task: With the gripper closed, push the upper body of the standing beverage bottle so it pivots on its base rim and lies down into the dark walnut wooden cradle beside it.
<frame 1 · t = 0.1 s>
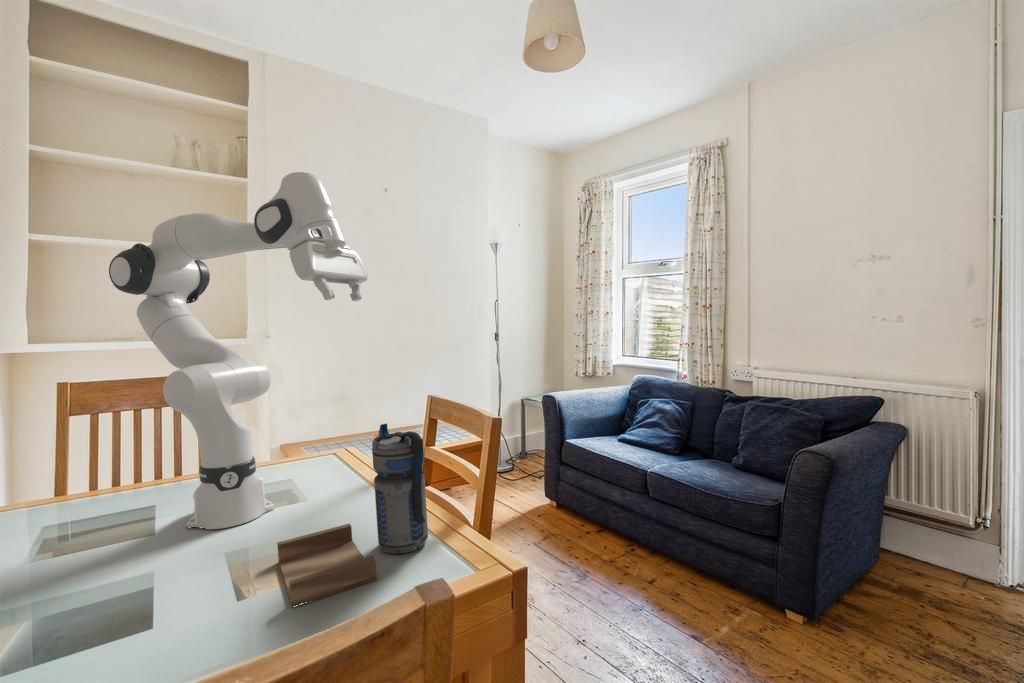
hand: (344, 299, 105), 52 cm above the table, tool tilted 20°, fingers open, 8 cm apart
beverage bottle: (406, 546, 99), on the table
walnut cradle: (325, 570, 91), on the table
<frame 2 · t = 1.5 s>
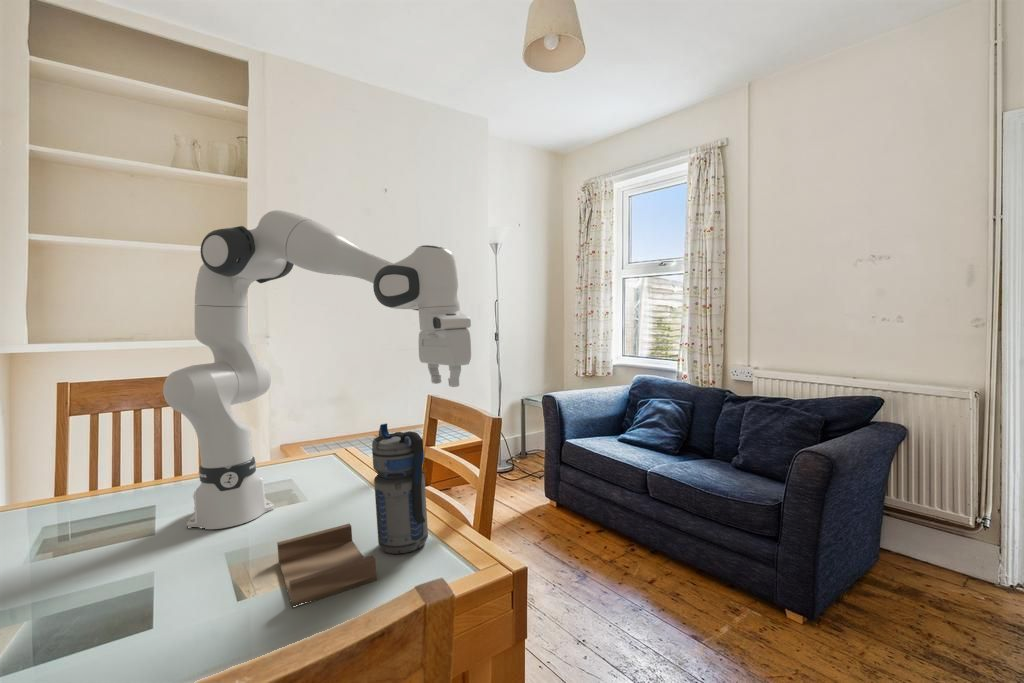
hand: (445, 384, 104), 32 cm above the table, tool pointing down, fingers open, 8 cm apart
nothing on the table moved.
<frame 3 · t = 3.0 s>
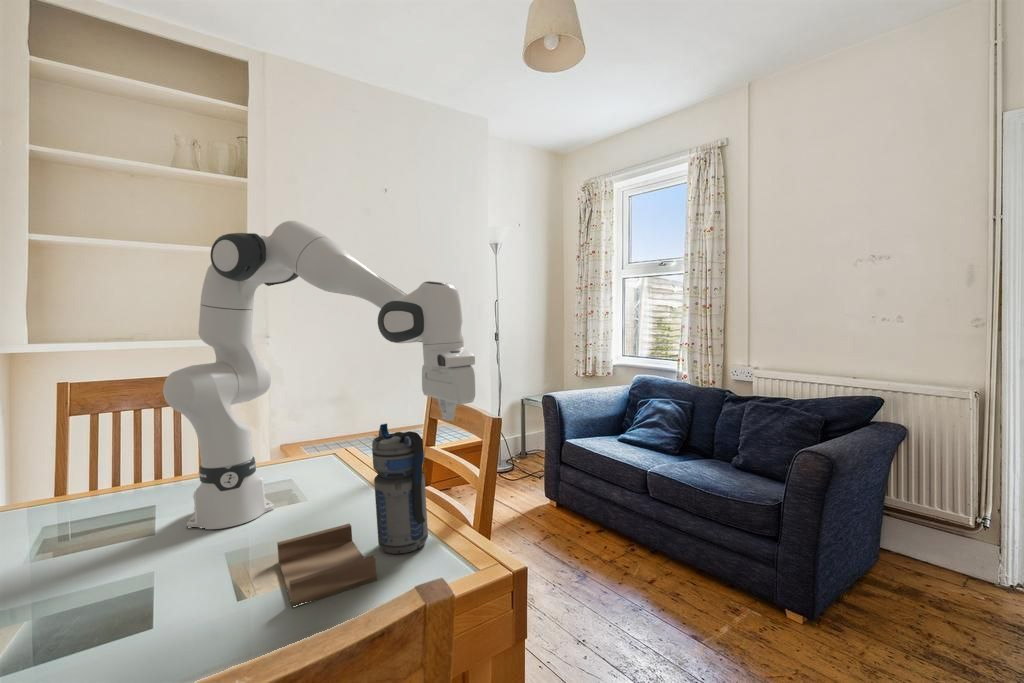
hand: (448, 419, 104), 25 cm above the table, tool pointing down, fingers closed
nothing on the table moved.
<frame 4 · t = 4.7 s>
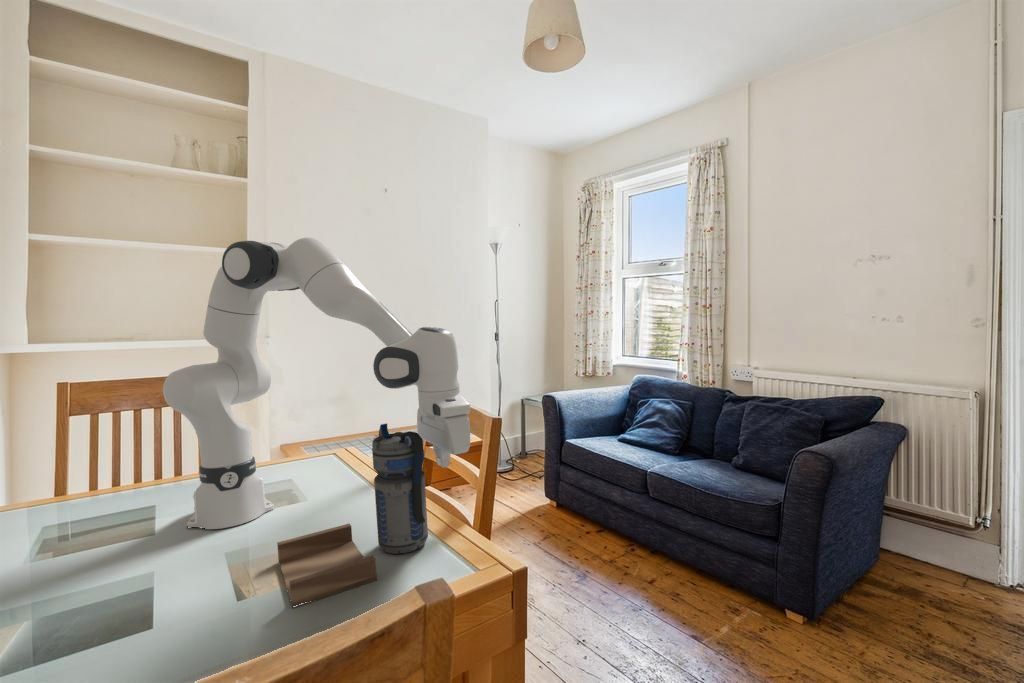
hand: (443, 465, 103), 15 cm above the table, tool pointing down, fingers closed
nothing on the table moved.
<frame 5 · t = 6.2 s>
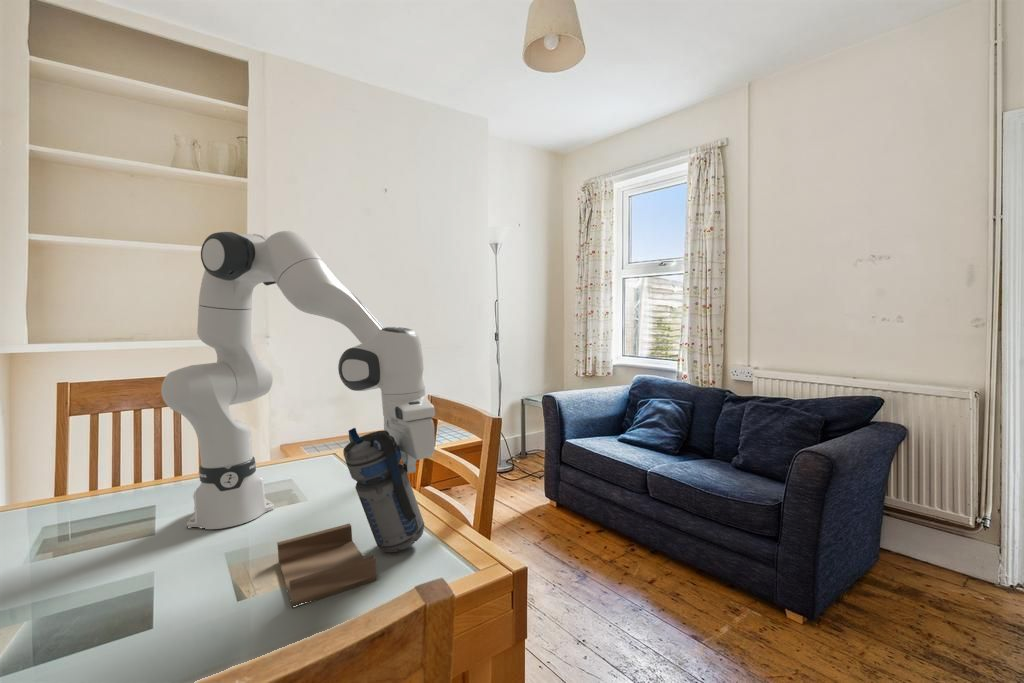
hand: (409, 471, 99), 15 cm above the table, tool pointing down, fingers closed
beverage bottle: (405, 540, 99), point 1 cm above the table, touching gripper
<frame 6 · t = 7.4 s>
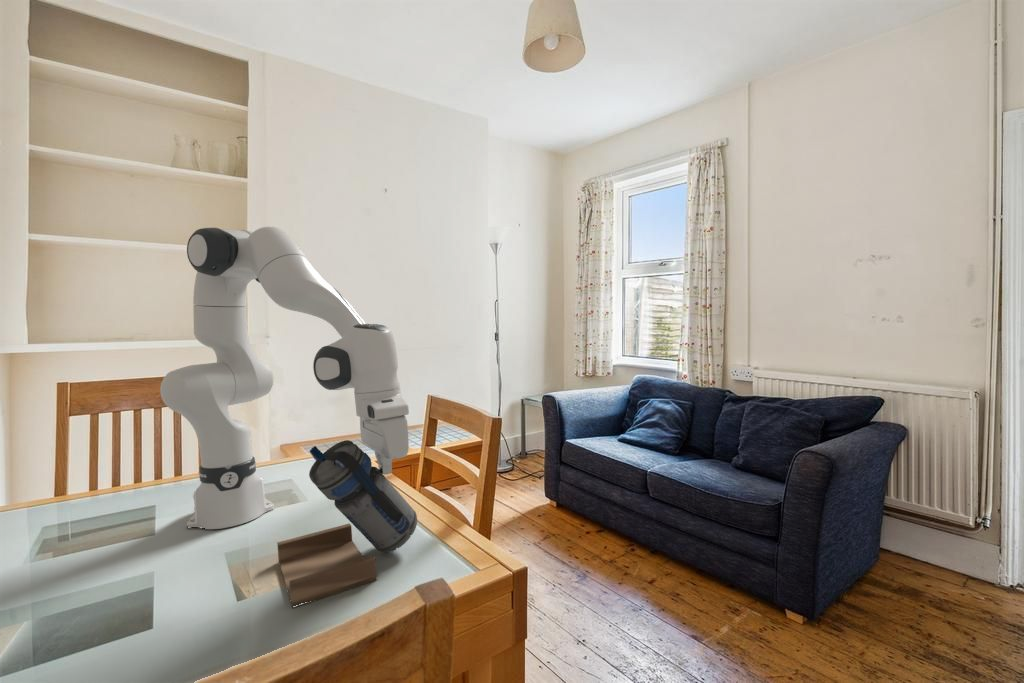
hand: (385, 472, 96), 16 cm above the table, tool pointing down, fingers closed
beverage bottle: (402, 534, 99), point 3 cm above the table, touching gripper
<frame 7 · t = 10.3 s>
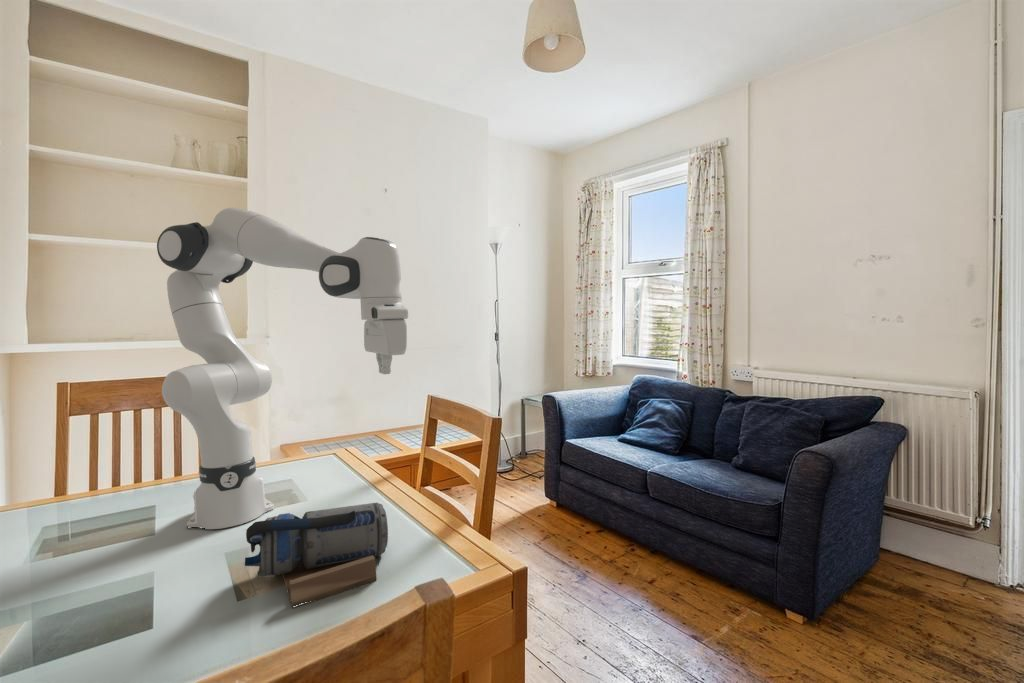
hand: (384, 373, 106), 35 cm above the table, tool pointing down, fingers closed
beverage bottle: (386, 525, 96), point 6 cm above the table, touching walnut cradle
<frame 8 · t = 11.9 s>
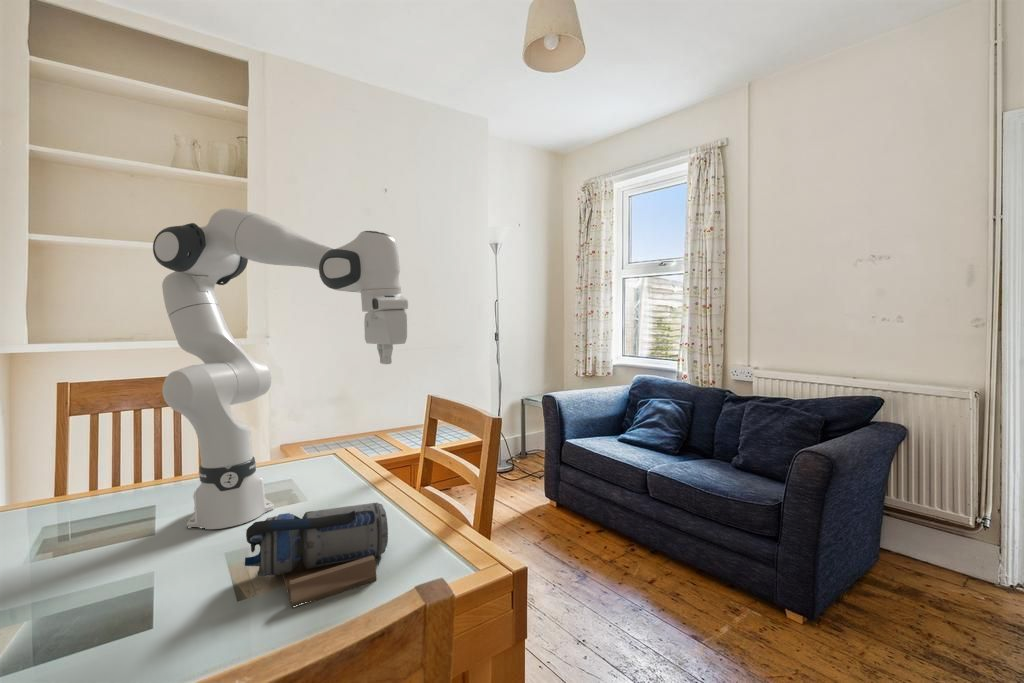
hand: (385, 363, 109), 37 cm above the table, tool pointing down, fingers closed
beverage bottle: (386, 525, 96), point 6 cm above the table, touching walnut cradle
at the end: beverage bottle tilted 86°; beverage bottle touching table, walnut cradle; beverage bottle inside the target area (0.6 cm from its centre), point 5.6 cm above the table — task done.
